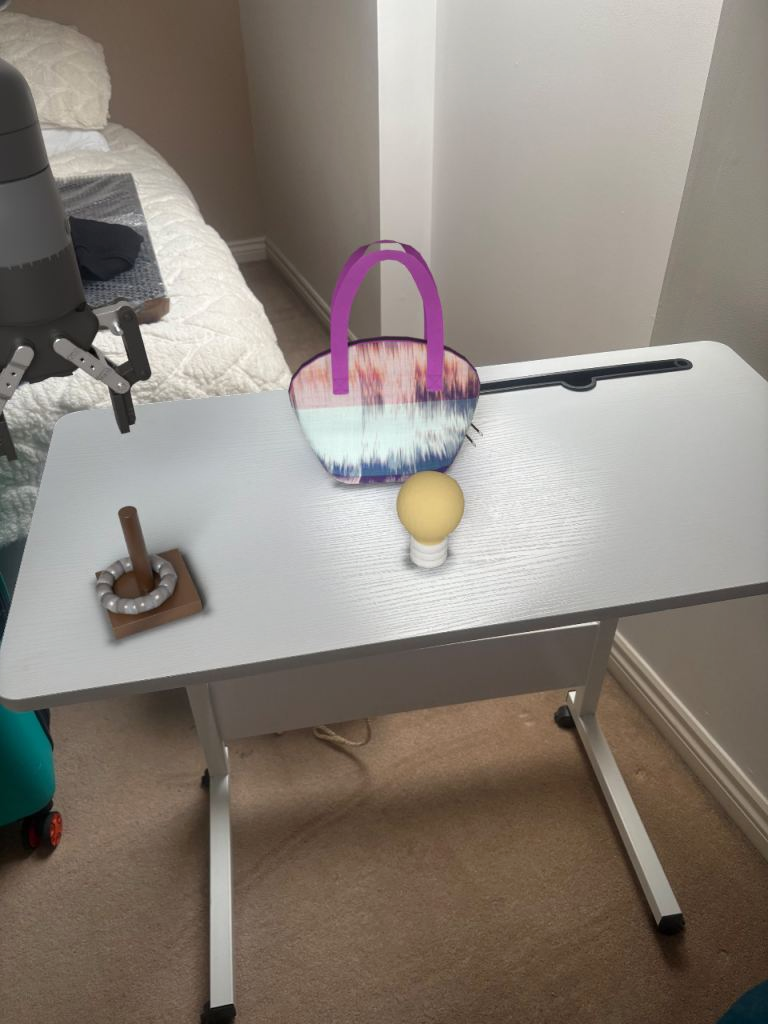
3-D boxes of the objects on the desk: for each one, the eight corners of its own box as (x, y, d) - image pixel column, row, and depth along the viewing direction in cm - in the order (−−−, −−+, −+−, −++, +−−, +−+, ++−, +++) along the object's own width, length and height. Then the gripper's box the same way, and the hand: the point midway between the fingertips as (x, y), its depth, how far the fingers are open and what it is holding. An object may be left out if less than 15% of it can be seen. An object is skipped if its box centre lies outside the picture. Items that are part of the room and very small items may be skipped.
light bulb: (387, 574, 80) (387, 493, 74) (405, 532, 85) (407, 453, 79) (452, 587, 79) (457, 506, 72) (466, 544, 84) (473, 464, 77)
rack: (116, 640, 74) (88, 553, 67) (98, 583, 79) (71, 498, 73) (203, 611, 77) (185, 525, 70) (179, 558, 82) (161, 473, 75)
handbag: (474, 430, 99) (490, 223, 83) (487, 480, 92) (508, 263, 76) (295, 437, 98) (277, 229, 82) (293, 488, 91) (273, 270, 75)
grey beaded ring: (106, 627, 73) (103, 616, 72) (91, 576, 78) (87, 565, 77) (186, 601, 76) (184, 590, 75) (166, 553, 81) (163, 542, 80)
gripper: (108, 205, 60) (147, 398, 70) (-109, 237, 55) (-33, 440, 65) (131, 241, 55) (170, 444, 65) (-106, 279, 50) (-23, 492, 60)
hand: (68, 442), depth 65 cm, fingers open, 8 cm apart
